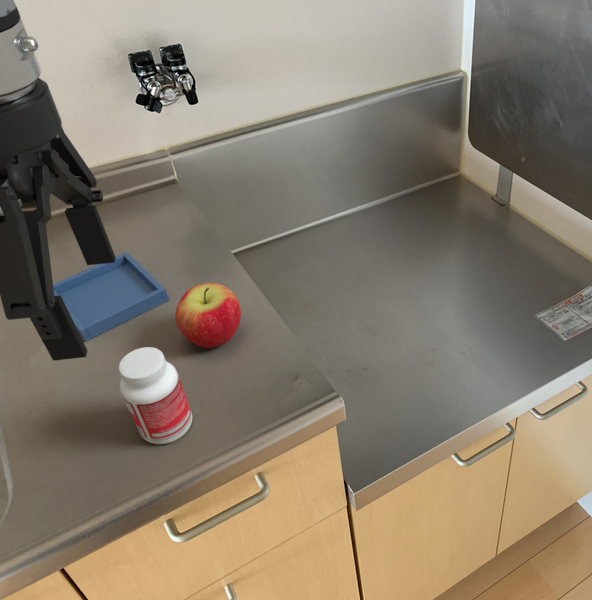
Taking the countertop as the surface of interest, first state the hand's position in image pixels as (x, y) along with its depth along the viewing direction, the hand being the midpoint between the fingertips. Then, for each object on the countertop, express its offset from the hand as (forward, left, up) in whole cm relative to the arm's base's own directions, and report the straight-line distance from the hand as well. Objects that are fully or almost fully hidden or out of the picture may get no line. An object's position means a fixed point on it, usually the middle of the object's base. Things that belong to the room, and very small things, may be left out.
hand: (87, 305), depth 59 cm
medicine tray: (+7, +27, -21) cm, 35 cm away
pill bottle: (+2, 0, -21) cm, 21 cm away
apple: (+14, +9, -21) cm, 27 cm away
